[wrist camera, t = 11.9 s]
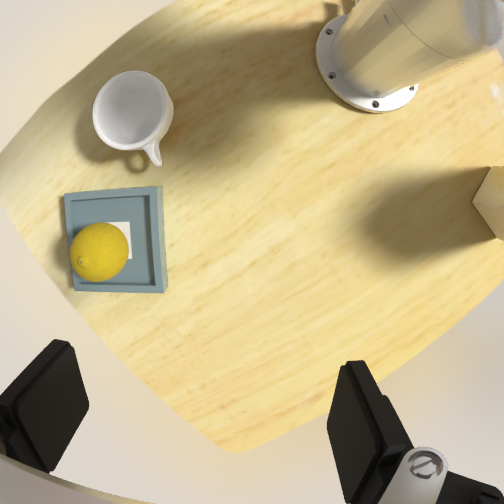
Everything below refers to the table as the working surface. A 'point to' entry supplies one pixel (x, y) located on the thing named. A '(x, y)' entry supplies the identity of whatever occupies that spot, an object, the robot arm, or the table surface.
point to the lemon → (99, 252)
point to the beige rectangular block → (492, 200)
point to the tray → (134, 228)
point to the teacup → (133, 113)
